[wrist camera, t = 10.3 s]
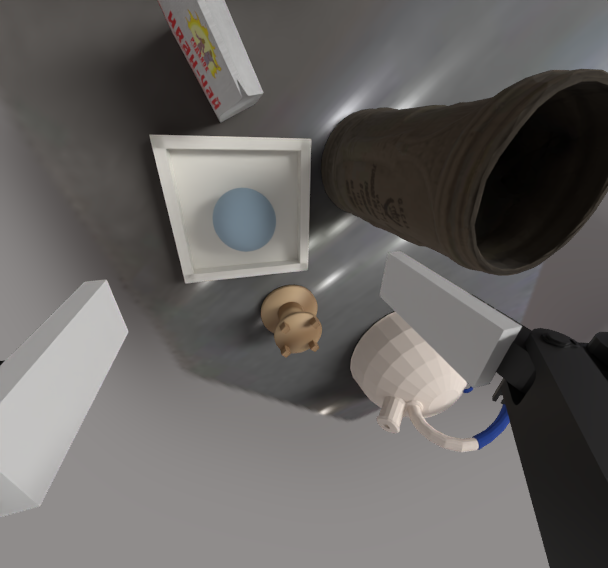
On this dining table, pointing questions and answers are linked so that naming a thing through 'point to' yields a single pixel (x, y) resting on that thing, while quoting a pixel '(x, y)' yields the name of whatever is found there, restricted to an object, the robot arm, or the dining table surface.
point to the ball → (244, 219)
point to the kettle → (412, 382)
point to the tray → (222, 178)
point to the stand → (292, 319)
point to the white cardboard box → (214, 53)
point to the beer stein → (480, 170)
